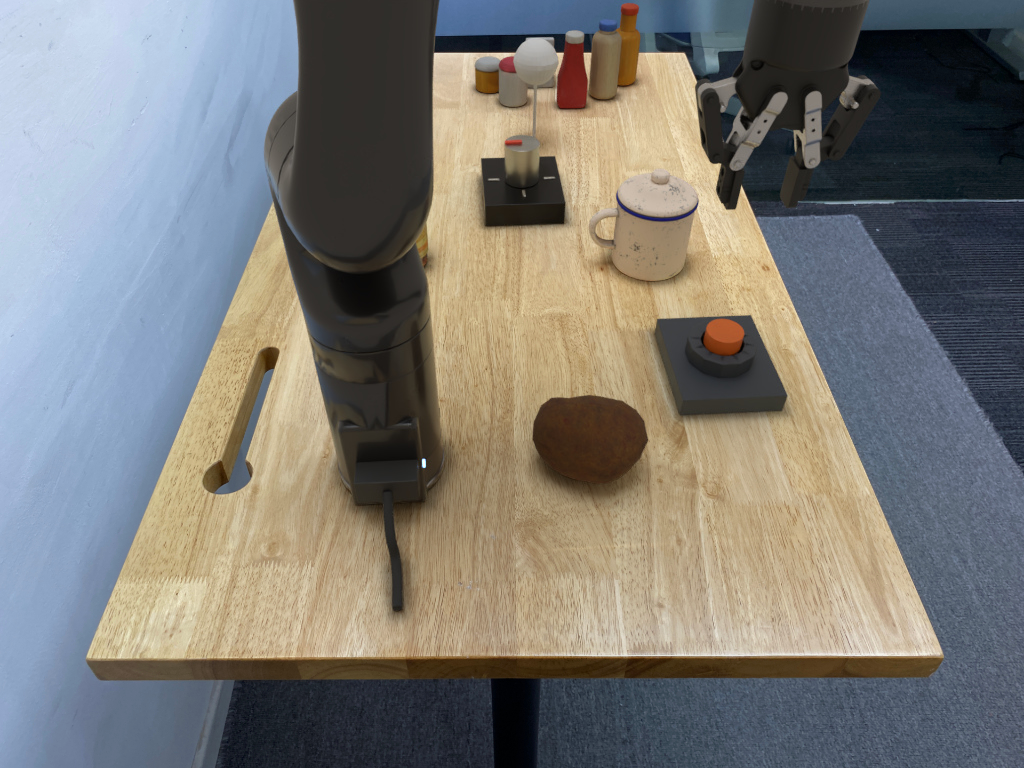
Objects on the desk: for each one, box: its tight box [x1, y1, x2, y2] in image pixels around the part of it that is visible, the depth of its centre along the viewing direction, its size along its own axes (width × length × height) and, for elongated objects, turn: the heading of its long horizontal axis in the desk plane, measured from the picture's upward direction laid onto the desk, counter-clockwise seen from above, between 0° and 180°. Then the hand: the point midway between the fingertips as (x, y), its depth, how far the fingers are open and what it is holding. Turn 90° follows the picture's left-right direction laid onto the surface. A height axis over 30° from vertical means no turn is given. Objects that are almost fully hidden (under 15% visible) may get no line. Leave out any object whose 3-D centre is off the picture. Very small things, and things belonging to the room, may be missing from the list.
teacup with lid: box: [588, 168, 700, 282], centre depth 87 cm, size 12×9×12 cm
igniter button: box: [703, 319, 744, 356], centre depth 75 cm, size 4×4×2 cm
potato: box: [532, 394, 649, 485], centre depth 66 cm, size 7×10×8 cm
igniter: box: [654, 314, 788, 417], centre depth 77 cm, size 12×10×4 cm
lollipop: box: [513, 37, 559, 138], centre depth 107 cm, size 6×6×15 cm
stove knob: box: [503, 134, 541, 188], centre depth 97 cm, size 4×4×5 cm
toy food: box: [473, 2, 641, 109], centre depth 121 cm, size 27×13×12 cm, turn 93°
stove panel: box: [480, 155, 566, 227], centre depth 100 cm, size 12×10×3 cm
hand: (758, 203), depth 64 cm, fingers open, 4 cm apart
